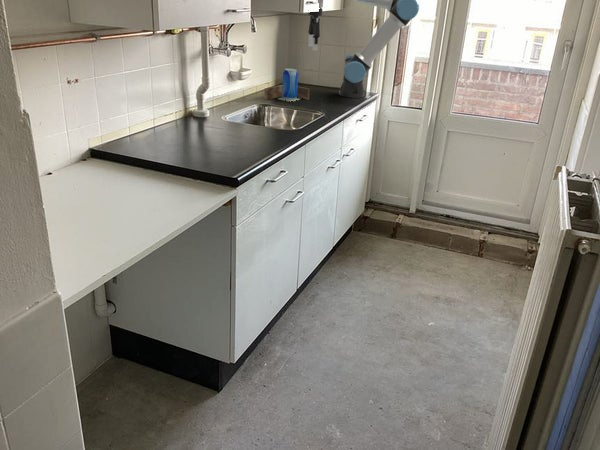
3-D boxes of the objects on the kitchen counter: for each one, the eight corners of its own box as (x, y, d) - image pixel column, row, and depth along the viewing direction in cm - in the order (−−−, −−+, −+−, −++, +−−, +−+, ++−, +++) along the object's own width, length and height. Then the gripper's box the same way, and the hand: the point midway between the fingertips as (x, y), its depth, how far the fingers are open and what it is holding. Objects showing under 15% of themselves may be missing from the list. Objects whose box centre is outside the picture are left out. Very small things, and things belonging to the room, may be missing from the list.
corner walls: (285, 94, 309) (286, 83, 307) (309, 99, 301) (309, 88, 298) (264, 99, 294) (264, 88, 292) (287, 104, 286) (288, 93, 283)
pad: (287, 96, 304) (287, 96, 303) (300, 99, 299) (300, 99, 299) (278, 99, 297) (278, 98, 297) (290, 101, 292) (290, 101, 292)
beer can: (298, 100, 295) (300, 70, 289) (284, 100, 293) (285, 70, 286) (294, 97, 303) (295, 68, 296) (280, 97, 300) (281, 68, 293)
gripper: (304, 5, 297) (302, 45, 306) (313, 8, 275) (310, 51, 284) (317, 6, 299) (315, 45, 308) (327, 9, 276) (324, 52, 285)
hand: (312, 48), depth 296 cm, fingers open, 13 cm apart
